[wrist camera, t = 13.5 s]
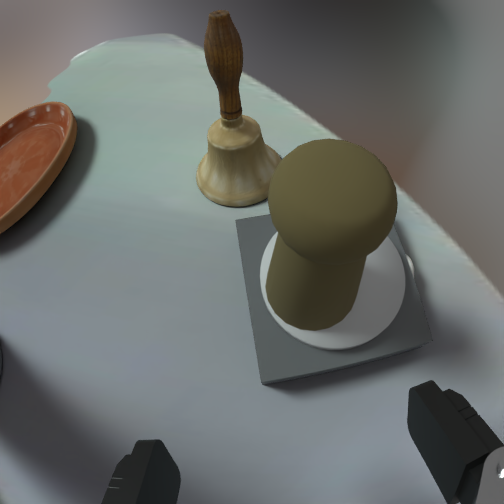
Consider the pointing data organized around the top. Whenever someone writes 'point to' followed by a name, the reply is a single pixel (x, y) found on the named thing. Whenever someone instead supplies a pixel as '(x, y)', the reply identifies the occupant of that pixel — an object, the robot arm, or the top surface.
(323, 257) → the cork
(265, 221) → the scale
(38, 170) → the saucer
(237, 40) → the hand bell
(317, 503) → the top surface
